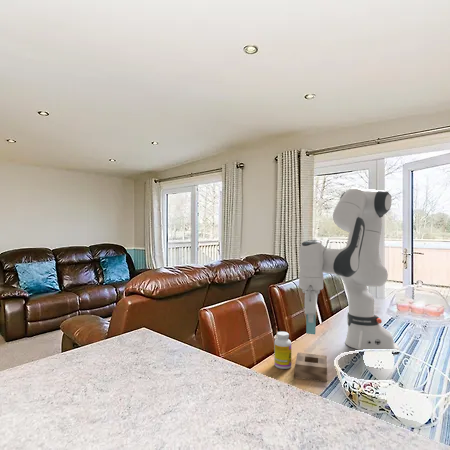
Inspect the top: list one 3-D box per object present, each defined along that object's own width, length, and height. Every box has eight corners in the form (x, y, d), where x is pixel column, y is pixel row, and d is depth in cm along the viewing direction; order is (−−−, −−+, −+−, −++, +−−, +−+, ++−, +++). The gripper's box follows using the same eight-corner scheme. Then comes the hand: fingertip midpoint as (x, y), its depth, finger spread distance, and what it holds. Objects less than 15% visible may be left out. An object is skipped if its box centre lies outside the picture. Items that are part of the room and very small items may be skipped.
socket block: (326, 368, 122) (326, 355, 122) (327, 382, 111) (326, 367, 111) (297, 365, 125) (297, 352, 125) (295, 377, 115) (295, 363, 115)
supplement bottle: (291, 370, 120) (291, 336, 120) (274, 369, 122) (273, 335, 122) (291, 363, 127) (291, 331, 127) (274, 361, 128) (274, 330, 128)
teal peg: (315, 331, 119) (315, 300, 119) (315, 334, 116) (315, 301, 116) (306, 330, 120) (306, 299, 120) (306, 333, 117) (306, 301, 117)
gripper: (319, 289, 107) (319, 329, 107) (320, 279, 127) (320, 314, 127) (300, 288, 109) (300, 328, 109) (304, 278, 129) (304, 312, 129)
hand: (311, 320), depth 118 cm, fingers closed on teal peg, 3 cm apart
